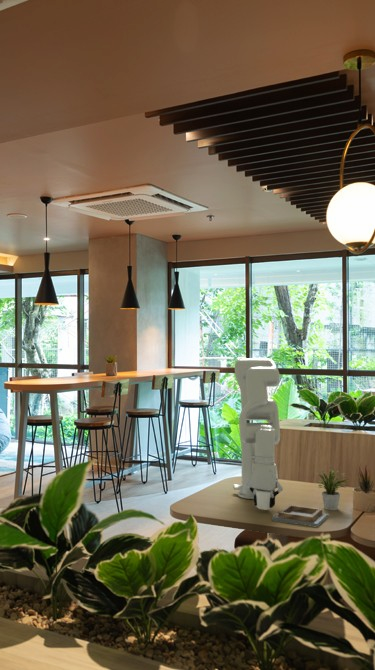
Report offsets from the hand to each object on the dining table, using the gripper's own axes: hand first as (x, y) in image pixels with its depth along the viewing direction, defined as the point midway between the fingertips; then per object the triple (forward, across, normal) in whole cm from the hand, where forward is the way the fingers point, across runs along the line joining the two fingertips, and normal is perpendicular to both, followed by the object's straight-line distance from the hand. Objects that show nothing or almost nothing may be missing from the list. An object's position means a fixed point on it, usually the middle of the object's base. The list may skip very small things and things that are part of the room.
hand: (264, 505), depth 236 cm
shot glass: (+1, 0, 0) cm, 1 cm away
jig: (+2, +16, -3) cm, 16 cm away
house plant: (+3, +22, +16) cm, 27 cm away
